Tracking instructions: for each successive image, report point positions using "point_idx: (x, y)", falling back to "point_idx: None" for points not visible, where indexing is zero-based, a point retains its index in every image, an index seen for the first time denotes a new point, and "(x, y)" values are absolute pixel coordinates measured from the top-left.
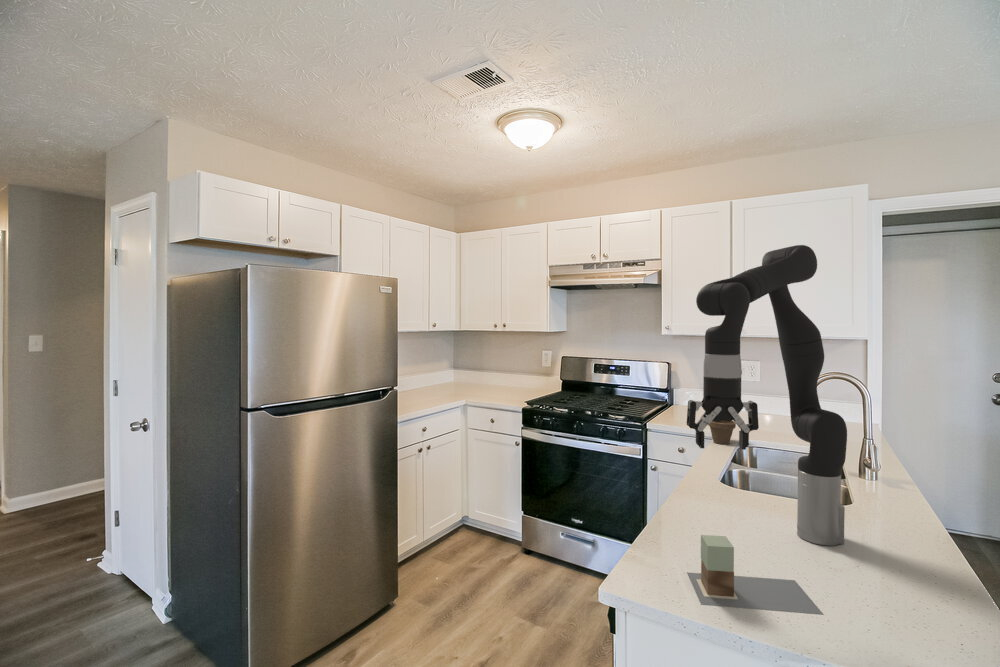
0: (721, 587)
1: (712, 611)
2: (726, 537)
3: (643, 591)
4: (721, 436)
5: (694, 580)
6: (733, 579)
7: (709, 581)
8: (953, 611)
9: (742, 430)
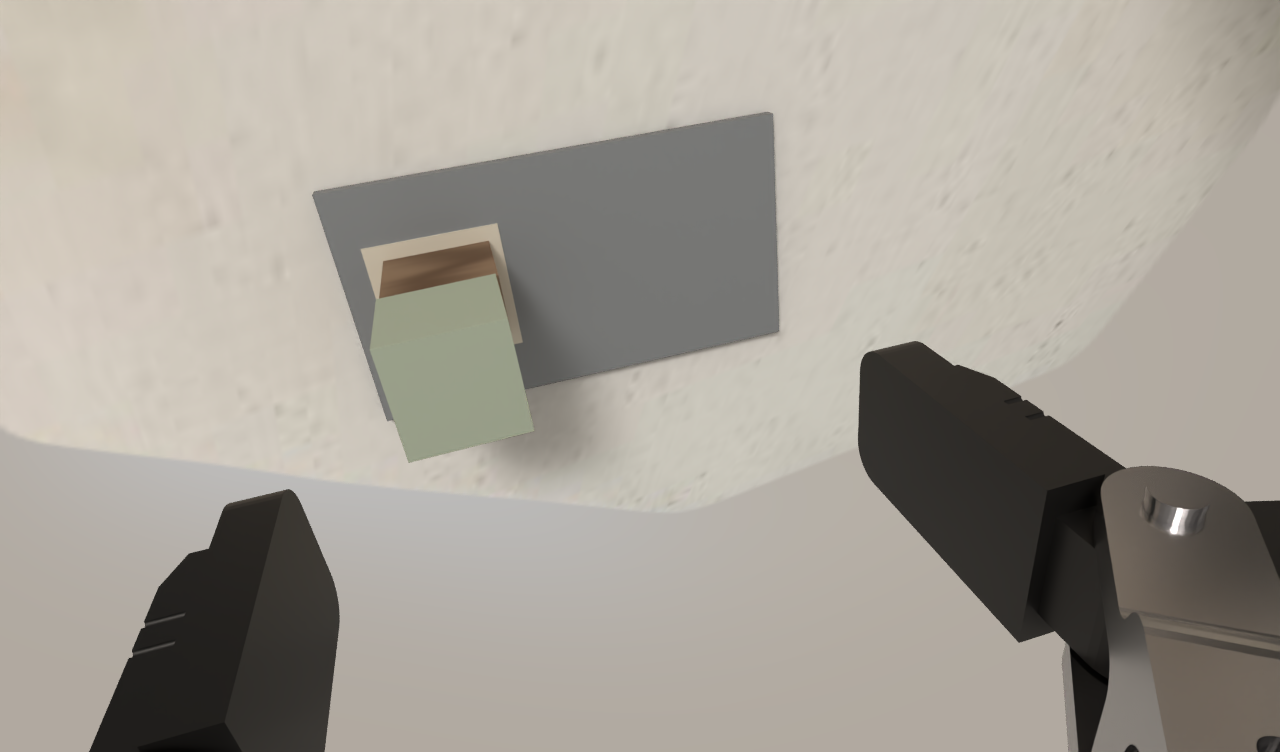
0: None
1: None
2: (510, 334)
3: (144, 392)
4: None
5: (353, 258)
6: None
7: None
8: (1169, 150)
9: (1070, 619)
